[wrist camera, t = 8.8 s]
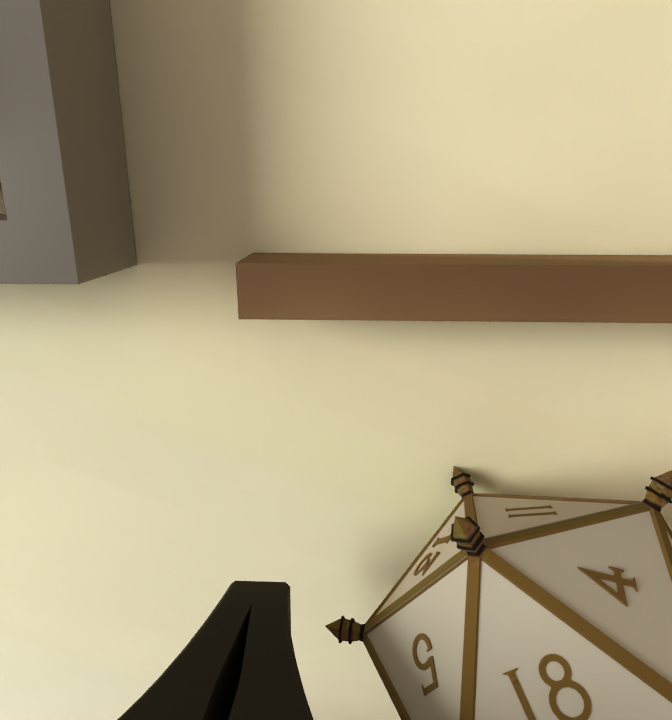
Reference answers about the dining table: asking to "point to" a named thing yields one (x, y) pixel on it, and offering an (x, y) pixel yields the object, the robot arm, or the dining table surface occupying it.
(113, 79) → the dome housing
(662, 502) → the game die
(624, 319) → the brown wooden u shape
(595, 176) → the dining table surface
